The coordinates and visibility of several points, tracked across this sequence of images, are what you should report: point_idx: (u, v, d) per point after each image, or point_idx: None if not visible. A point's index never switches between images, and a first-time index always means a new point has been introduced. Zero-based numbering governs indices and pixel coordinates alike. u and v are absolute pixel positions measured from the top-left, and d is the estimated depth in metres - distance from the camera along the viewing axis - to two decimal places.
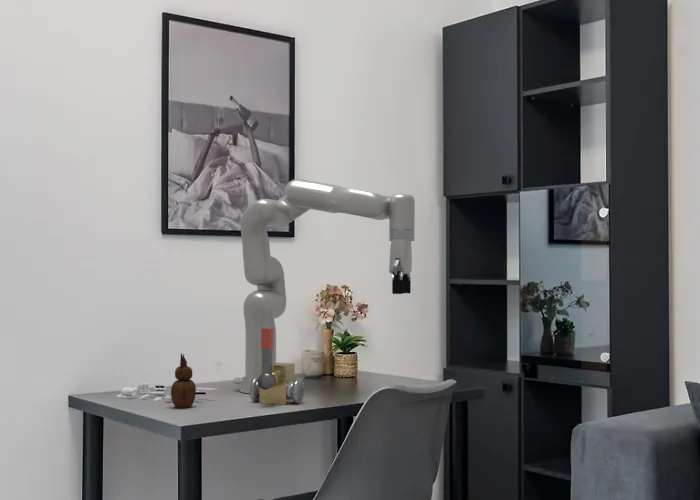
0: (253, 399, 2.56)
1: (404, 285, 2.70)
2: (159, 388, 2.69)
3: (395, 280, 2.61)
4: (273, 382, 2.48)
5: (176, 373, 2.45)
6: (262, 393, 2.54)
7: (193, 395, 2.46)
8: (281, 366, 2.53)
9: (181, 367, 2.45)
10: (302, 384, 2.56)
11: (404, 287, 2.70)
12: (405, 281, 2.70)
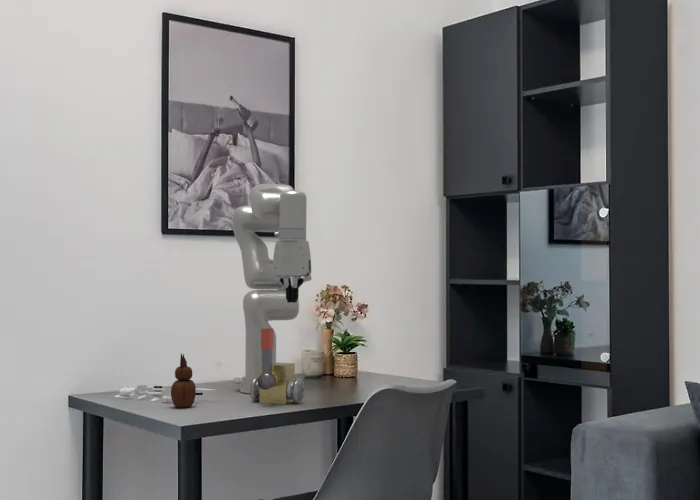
0: (253, 399, 2.56)
1: None
2: (157, 388, 2.67)
3: (297, 288, 2.46)
4: (273, 382, 2.48)
5: (176, 373, 2.45)
6: (262, 393, 2.54)
7: (193, 395, 2.46)
8: (281, 366, 2.53)
9: (181, 367, 2.45)
10: (302, 384, 2.56)
11: None
12: None
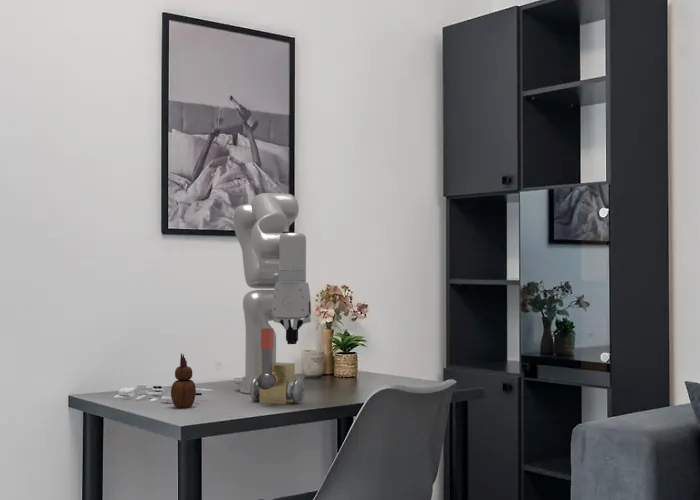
0: (253, 399, 2.56)
1: None
2: (157, 389, 2.67)
3: (296, 329, 2.46)
4: (273, 382, 2.48)
5: (176, 373, 2.45)
6: (262, 393, 2.54)
7: (193, 395, 2.46)
8: (281, 366, 2.53)
9: (181, 367, 2.45)
10: (302, 384, 2.56)
11: None
12: None
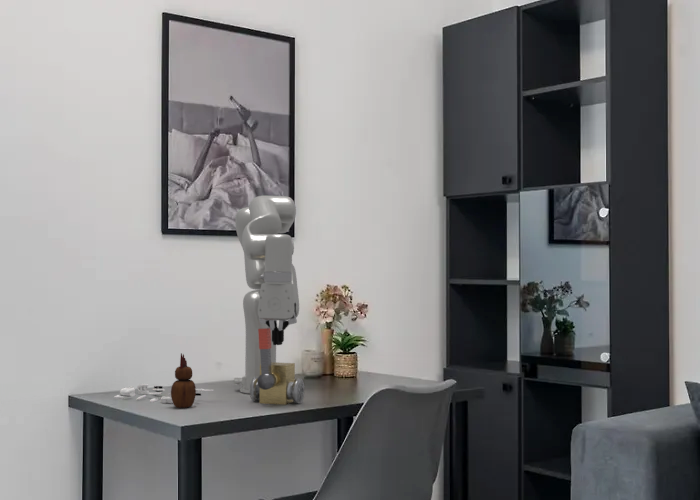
0: (253, 399, 2.56)
1: None
2: (157, 389, 2.67)
3: (282, 330, 2.48)
4: (273, 382, 2.48)
5: (176, 373, 2.45)
6: (262, 393, 2.54)
7: (193, 395, 2.46)
8: (281, 366, 2.53)
9: (181, 367, 2.45)
10: (302, 384, 2.56)
11: None
12: None
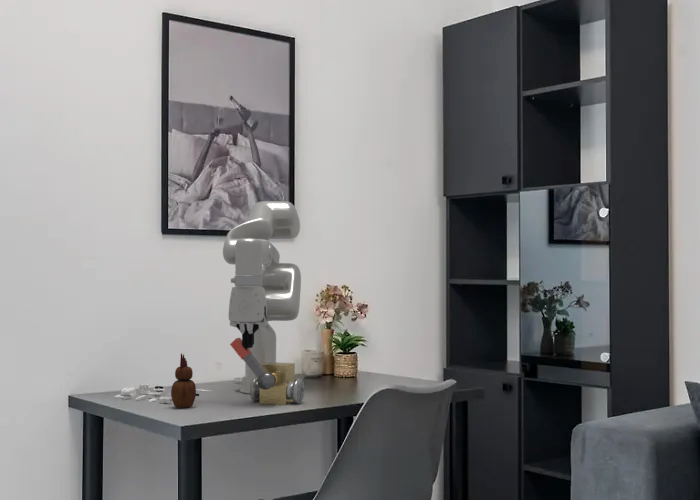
0: (253, 399, 2.56)
1: None
2: (158, 389, 2.67)
3: (252, 333, 2.50)
4: (272, 376, 2.48)
5: (176, 373, 2.44)
6: (262, 393, 2.54)
7: (193, 395, 2.45)
8: (281, 366, 2.53)
9: (181, 367, 2.44)
10: (302, 384, 2.56)
11: None
12: None
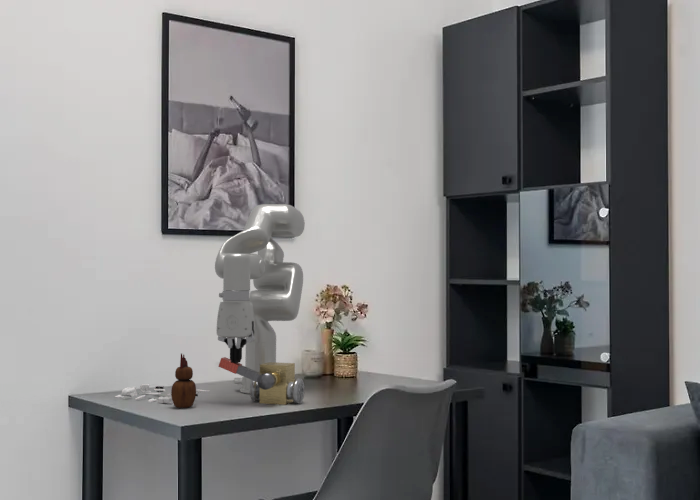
0: (253, 399, 2.56)
1: None
2: (158, 389, 2.67)
3: (240, 348, 2.51)
4: (269, 374, 2.48)
5: (176, 373, 2.44)
6: (262, 393, 2.54)
7: (193, 395, 2.45)
8: (281, 366, 2.53)
9: (181, 367, 2.44)
10: (302, 384, 2.56)
11: None
12: None
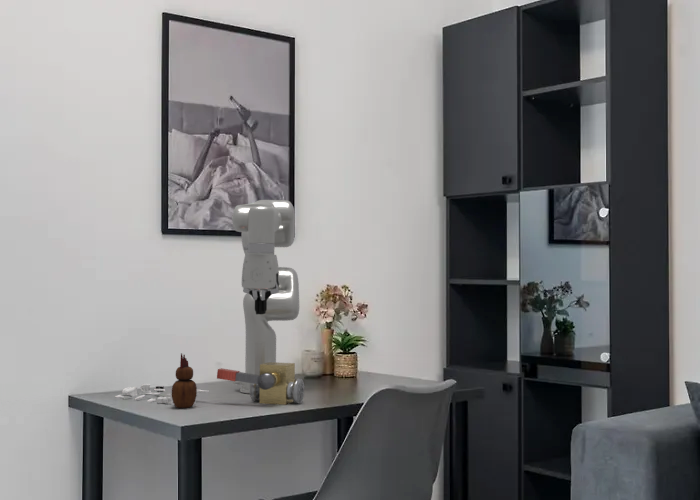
0: (253, 399, 2.56)
1: None
2: (158, 389, 2.67)
3: (265, 300, 2.54)
4: (267, 373, 2.48)
5: (176, 373, 2.44)
6: (262, 393, 2.54)
7: (193, 395, 2.45)
8: (281, 366, 2.53)
9: (181, 367, 2.44)
10: (302, 384, 2.56)
11: None
12: None
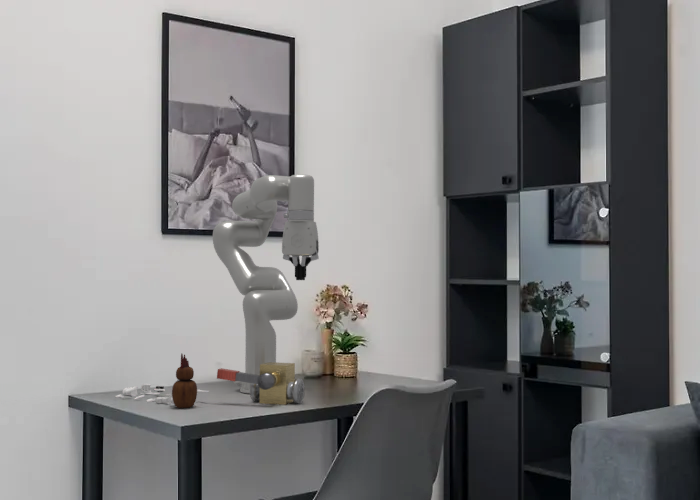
0: (253, 399, 2.56)
1: None
2: (158, 389, 2.67)
3: (305, 266, 2.60)
4: (267, 373, 2.48)
5: (177, 373, 2.44)
6: (262, 393, 2.54)
7: (194, 395, 2.45)
8: (281, 366, 2.53)
9: (181, 367, 2.44)
10: (302, 384, 2.56)
11: None
12: None
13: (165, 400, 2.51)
